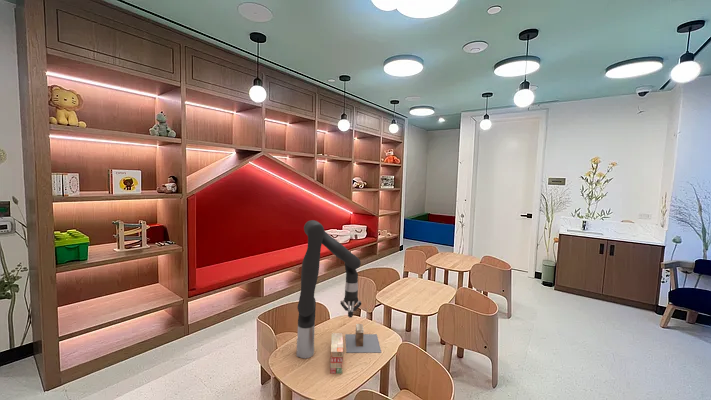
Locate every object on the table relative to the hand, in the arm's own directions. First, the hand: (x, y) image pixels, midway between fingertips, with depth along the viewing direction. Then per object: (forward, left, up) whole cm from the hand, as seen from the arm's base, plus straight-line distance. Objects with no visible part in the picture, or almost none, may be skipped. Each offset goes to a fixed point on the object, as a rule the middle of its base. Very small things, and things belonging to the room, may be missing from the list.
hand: (350, 316), depth 171 cm
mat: (+8, 0, -17) cm, 19 cm away
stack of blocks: (-8, -15, -17) cm, 24 cm away
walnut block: (+6, 0, -16) cm, 17 cm away
